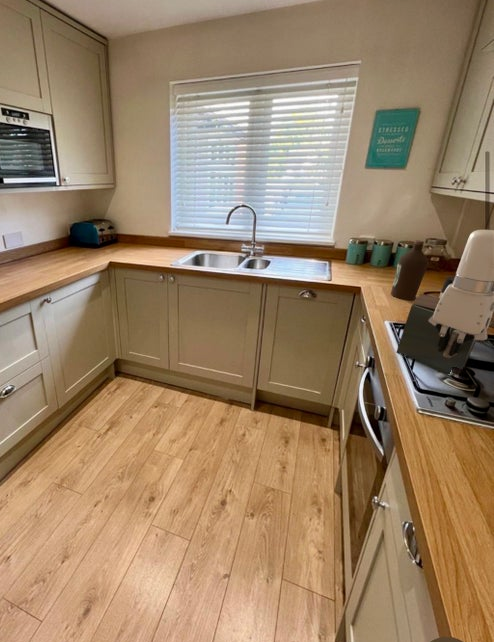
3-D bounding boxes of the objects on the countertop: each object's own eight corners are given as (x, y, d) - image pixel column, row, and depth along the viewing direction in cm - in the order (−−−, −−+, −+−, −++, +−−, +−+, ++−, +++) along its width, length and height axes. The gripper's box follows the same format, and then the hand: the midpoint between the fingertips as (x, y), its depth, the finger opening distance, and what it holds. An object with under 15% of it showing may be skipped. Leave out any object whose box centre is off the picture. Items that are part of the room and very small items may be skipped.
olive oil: (416, 295, 150) (434, 240, 140) (416, 302, 141) (435, 245, 132) (389, 290, 155) (405, 237, 145) (388, 297, 147) (404, 241, 137)
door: (446, 386, 86) (468, 332, 80) (384, 357, 98) (400, 309, 92) (458, 378, 89) (480, 326, 83) (397, 351, 102) (413, 304, 96)
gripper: (523, 292, 73) (491, 363, 80) (442, 273, 85) (421, 336, 92) (511, 297, 69) (478, 371, 76) (428, 277, 82) (407, 342, 89)
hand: (447, 351), depth 84 cm, fingers closed on door
